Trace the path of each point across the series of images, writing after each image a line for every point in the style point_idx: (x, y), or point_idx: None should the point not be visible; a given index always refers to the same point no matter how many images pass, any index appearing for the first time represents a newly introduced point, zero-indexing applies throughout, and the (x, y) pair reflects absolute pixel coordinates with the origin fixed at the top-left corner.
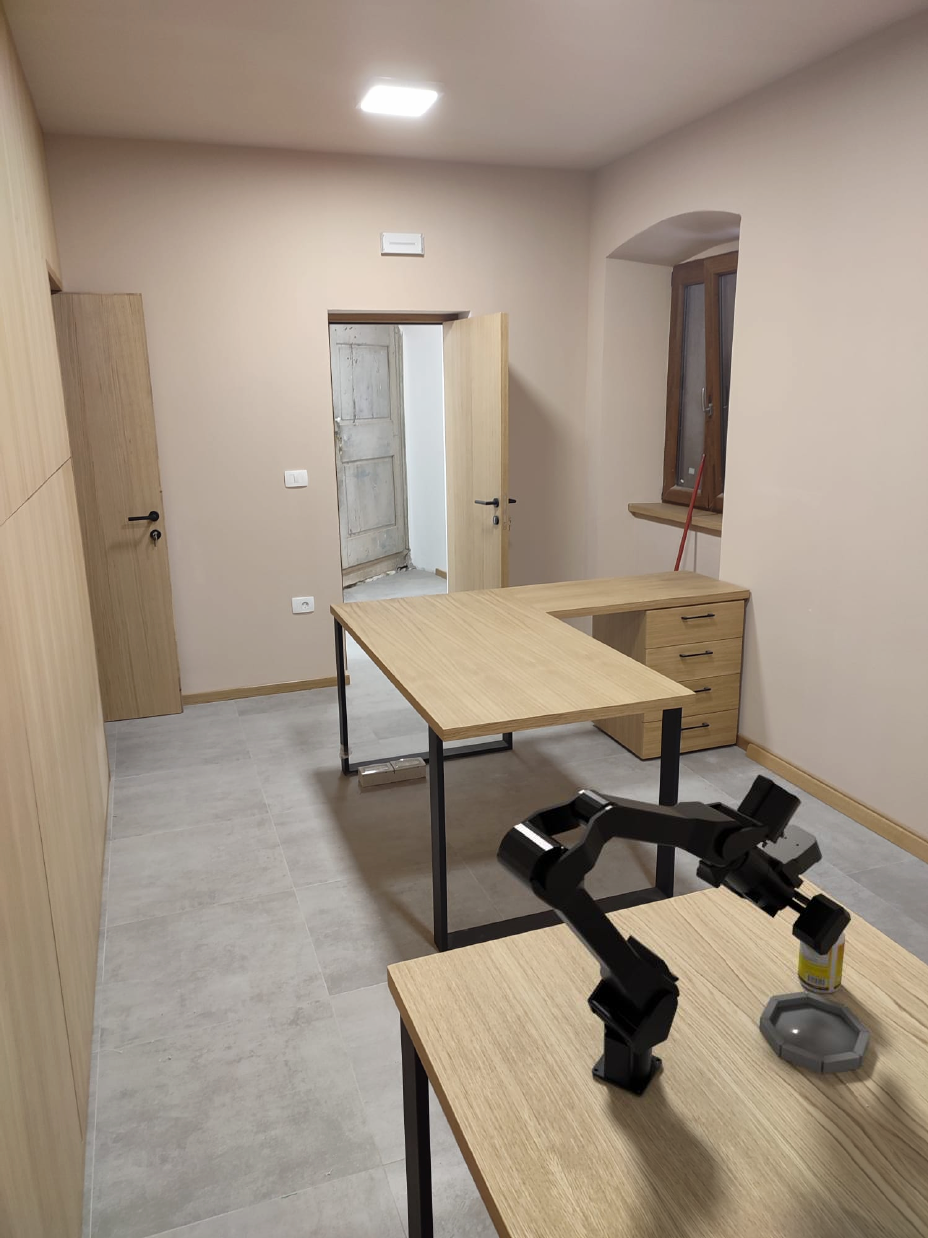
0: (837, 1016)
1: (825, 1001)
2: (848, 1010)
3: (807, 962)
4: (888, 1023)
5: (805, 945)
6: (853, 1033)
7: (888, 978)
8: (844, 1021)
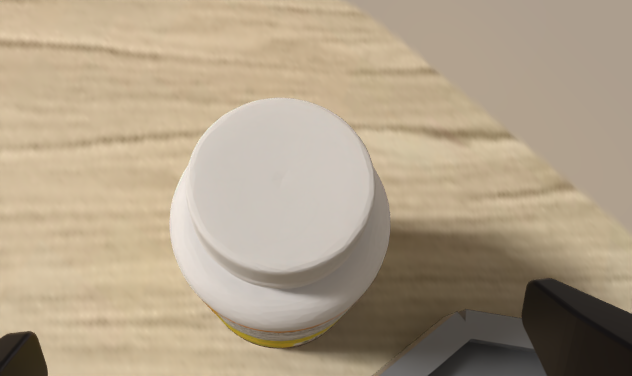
0: (465, 355)
1: (425, 366)
2: (486, 320)
3: (298, 339)
4: (504, 215)
5: (280, 335)
6: None
7: (341, 77)
8: (492, 350)
